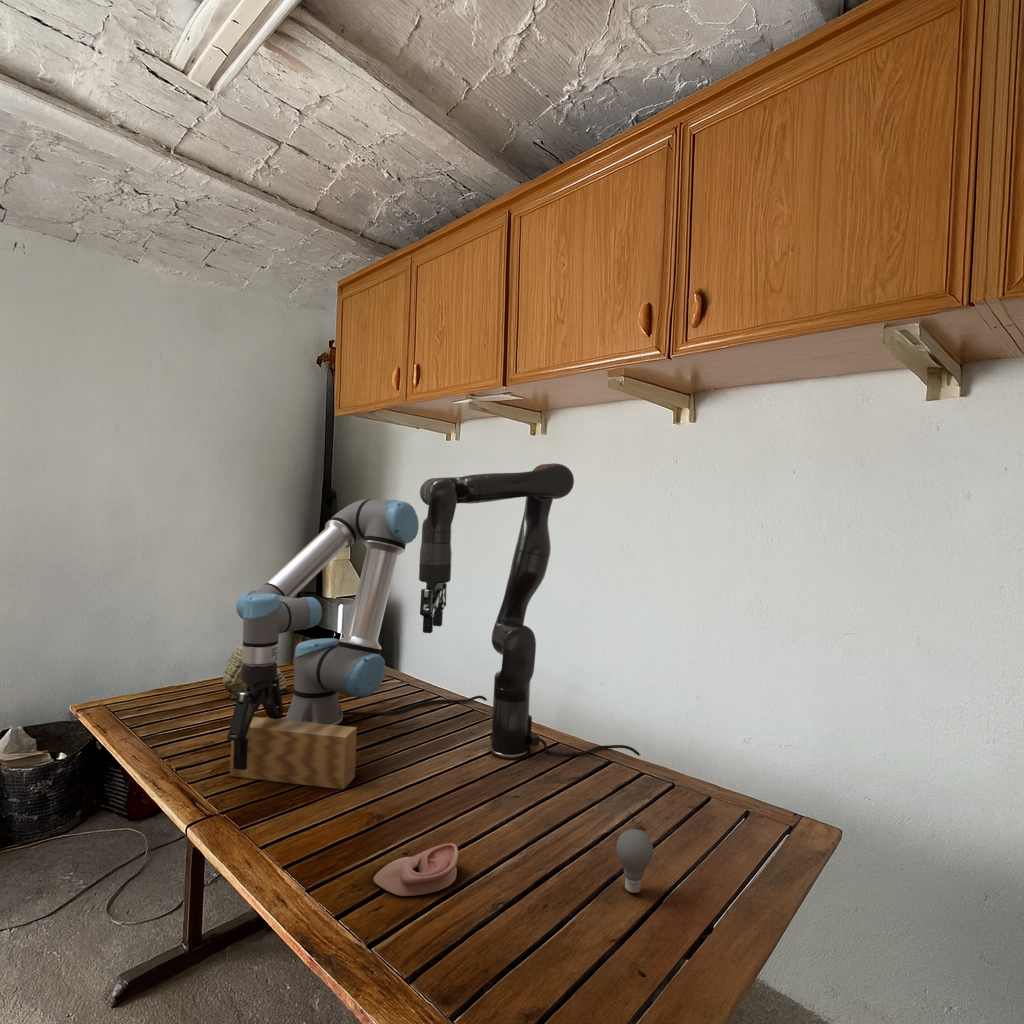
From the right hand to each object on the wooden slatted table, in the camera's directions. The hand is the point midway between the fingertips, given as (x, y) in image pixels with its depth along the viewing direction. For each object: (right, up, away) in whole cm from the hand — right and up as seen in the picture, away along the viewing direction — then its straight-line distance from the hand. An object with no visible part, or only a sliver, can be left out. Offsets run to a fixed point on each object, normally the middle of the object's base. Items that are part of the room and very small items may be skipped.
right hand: (432, 629), depth 151 cm
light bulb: (+39, -35, -45) cm, 70 cm away
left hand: (-39, -28, -7) cm, 49 cm away
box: (-30, -32, -8) cm, 45 cm away
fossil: (-62, -29, +47) cm, 83 cm away
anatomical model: (+3, -34, -44) cm, 56 cm away
